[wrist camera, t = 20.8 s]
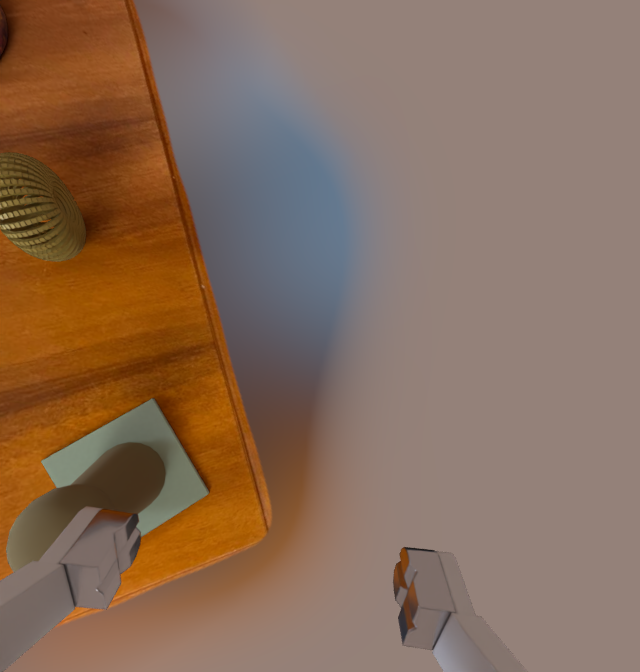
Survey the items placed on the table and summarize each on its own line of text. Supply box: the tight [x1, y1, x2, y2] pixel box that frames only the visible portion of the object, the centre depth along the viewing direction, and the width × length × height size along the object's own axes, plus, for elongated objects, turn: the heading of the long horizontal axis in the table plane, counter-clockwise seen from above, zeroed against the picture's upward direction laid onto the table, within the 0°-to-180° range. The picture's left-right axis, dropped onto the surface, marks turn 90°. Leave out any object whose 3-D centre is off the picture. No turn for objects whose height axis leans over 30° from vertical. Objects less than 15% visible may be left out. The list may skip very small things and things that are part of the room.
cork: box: [6, 442, 166, 572], centre depth 23 cm, size 6×6×11 cm
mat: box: [41, 398, 209, 537], centre depth 29 cm, size 10×10×1 cm
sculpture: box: [0, 152, 86, 261], centre depth 26 cm, size 8×4×8 cm, turn 19°
